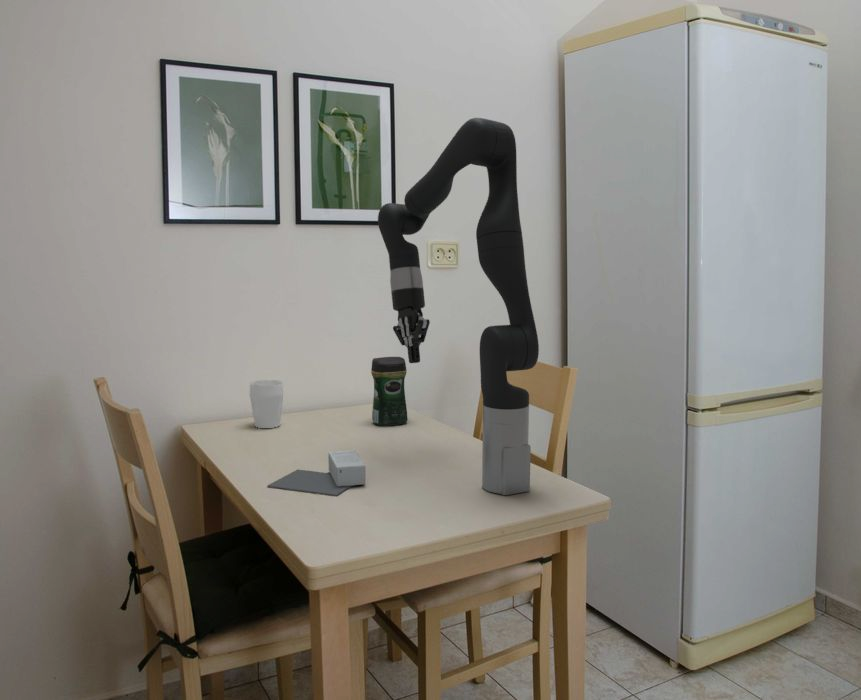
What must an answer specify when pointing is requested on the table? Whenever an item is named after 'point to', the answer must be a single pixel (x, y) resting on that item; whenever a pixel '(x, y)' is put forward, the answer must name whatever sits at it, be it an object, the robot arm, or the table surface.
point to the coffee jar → (389, 391)
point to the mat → (310, 482)
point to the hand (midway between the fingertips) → (414, 362)
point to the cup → (266, 402)
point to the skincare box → (346, 468)
